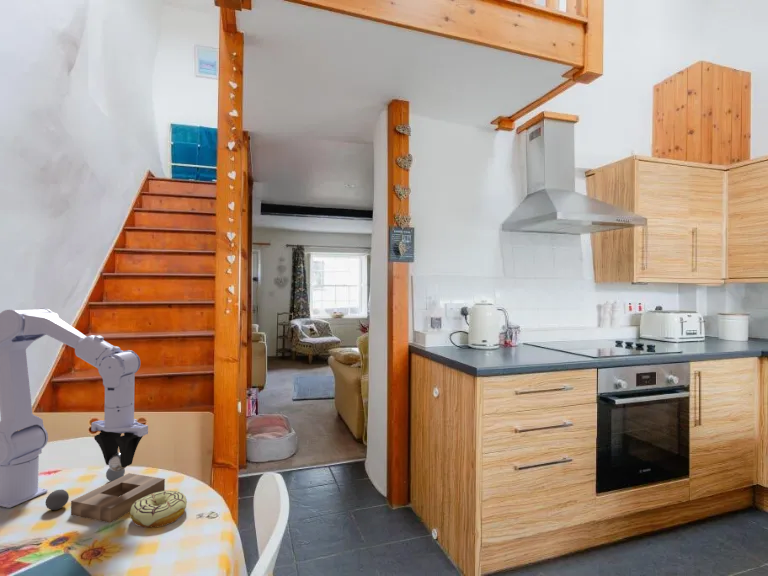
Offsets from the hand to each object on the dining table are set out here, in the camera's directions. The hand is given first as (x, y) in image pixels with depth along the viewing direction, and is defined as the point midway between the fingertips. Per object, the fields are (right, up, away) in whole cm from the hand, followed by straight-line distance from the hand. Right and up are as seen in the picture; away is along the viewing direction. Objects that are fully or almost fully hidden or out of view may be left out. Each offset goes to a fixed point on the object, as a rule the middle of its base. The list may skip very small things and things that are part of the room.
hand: (119, 464), depth 92 cm
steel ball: (0, +1, 0) cm, 1 cm away
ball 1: (-12, -6, -3) cm, 14 cm away
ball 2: (-8, -7, +10) cm, 15 cm away
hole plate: (+1, -9, 0) cm, 9 cm away
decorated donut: (+13, -9, -6) cm, 16 cm away
